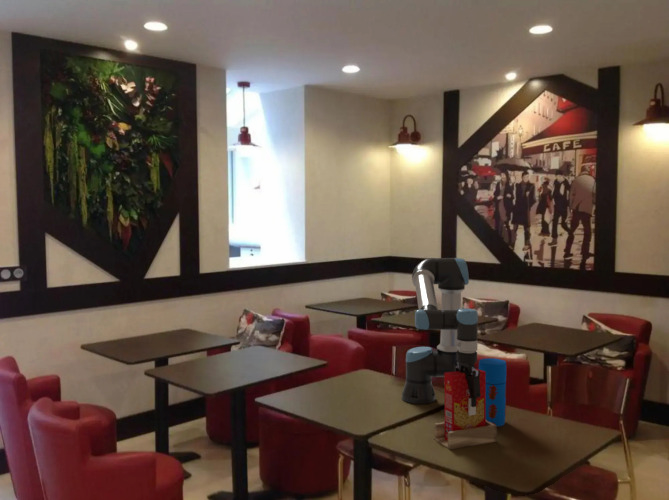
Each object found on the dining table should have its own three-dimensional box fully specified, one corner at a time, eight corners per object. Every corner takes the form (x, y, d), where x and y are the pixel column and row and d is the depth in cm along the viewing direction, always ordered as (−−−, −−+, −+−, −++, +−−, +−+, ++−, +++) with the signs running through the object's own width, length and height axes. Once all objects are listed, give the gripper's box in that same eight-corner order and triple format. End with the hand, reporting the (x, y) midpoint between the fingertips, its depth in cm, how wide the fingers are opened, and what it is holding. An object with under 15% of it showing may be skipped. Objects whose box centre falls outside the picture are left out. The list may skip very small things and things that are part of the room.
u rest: (434, 439, 229) (434, 423, 228) (480, 432, 236) (480, 416, 236) (449, 449, 219) (449, 433, 219) (496, 441, 226) (496, 425, 226)
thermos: (506, 427, 241) (507, 365, 239) (478, 425, 243) (479, 364, 241) (504, 418, 252) (505, 358, 250) (477, 416, 254) (478, 357, 252)
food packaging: (452, 443, 222) (452, 375, 221) (444, 439, 227) (444, 372, 226) (485, 437, 228) (485, 371, 227) (477, 433, 233) (476, 368, 232)
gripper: (443, 345, 233) (442, 404, 235) (474, 358, 215) (472, 421, 216) (460, 344, 236) (459, 402, 238) (491, 356, 217) (490, 418, 219)
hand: (465, 411), depth 227 cm, fingers open, 7 cm apart
